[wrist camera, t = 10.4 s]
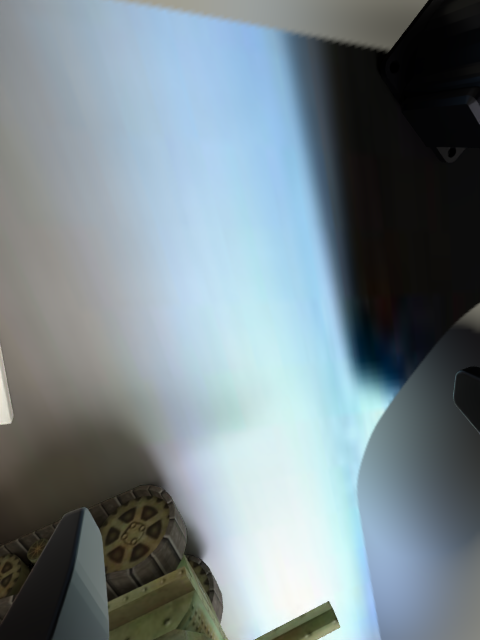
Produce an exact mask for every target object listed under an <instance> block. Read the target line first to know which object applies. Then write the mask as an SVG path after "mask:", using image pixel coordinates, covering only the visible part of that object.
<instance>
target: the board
mask: <svg viewBox="0 0 480 640" xmlns="http://www.w3.org/2000/svg"><path fill="white" fill-rule="evenodd" d="M13 416H14V415H13V409H12V404H11V399H10V393H9V388H8V383H7V377H6V372H5V367H4V362H3V356H2V351H1V346H0V425H1V424H10V423H11V422H12V419H13Z"/></svg>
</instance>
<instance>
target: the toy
mask: <svg viewBox="0 0 480 640" xmlns="http://www.w3.org/2000/svg"><path fill="white" fill-rule="evenodd" d="M87 509H88V510H89V512H90V514H91V515H92V517H93V519H94V521H95V523H96V525H97V526H98V528H99V530H100V533H101V536H102V542H103V554H104V566H105V577H106V589H107V601H108V614H109V640H228V639H227V637H226V635H225V633H224V632H223V630H222V628H221V625H220V623H221V618H222V612H223V601H222V594H221V591H220V589H219V586H218V584H217V582H216V580H215V578H214V576H213V575H212V573H211V571H210V569H209V567H208V566H207V565H206V564H205V563H204V562H203V561H202V560H201V559H199V558H197V557H194V556H192V555H184V551H185V547H186V544H187V529H186V526H185V524H184V521H183V518H182V516H181V515H180V513H179V511H178V509H177V507H176V505H175V503H174V501H173V500H172V498H171V496H170V495H169V494H168V493H167V492H166V491H165V490H164V489H162V488H160V487H157V486H154V485H141V486H138V487H136V488H134V489H131V490H129V491H127V492H125V493H122V494H120V495H118V496H115V497H113V498H111V499H108V500H106V501H104V502H101V503H99V504H97V505H94V506H92V507H90V508H87ZM59 522H60V521H57V522H55V523H53V524H50V525H48V526H46V527H43V528H41V529H39V530H36V531H34V532H32V533H30V534H27V535H25V536H23V537H20V538H18V539H16V540H13V541H11V542H9V543H6V544H4V545H2V546H0V624H1V622H2V620H3V619H4V617H5V615H6V614H7V612H8V610H9V608H10V607H11V605H12V603H13V601H14V600H15V598H16V596H17V595H18V593H19V591H20V589H21V588H22V586H23V584H24V582H25V581H26V579H27V577H28V575H29V574H30V572H31V570H32V569H30V568H29V567H28V566H27V564H30V563H33V564H34V565H35V563H36V562H37V560H38V558H39V556H40V555H41V553H42V551H43V550H44V548H45V546H46V544H47V543H48V541H49V539H50V537H51V536H52V534H53V532H54V531H55V529H56V527H57V525H58V524H59ZM338 628H340V625H339V622H338V620H337V617H336V615H335V613H334V610H333V608H332V606H331V604H330V602H329V601H328V602H326V603H324V604H322V605H320V606H318V607H317V608H315V609H313V610H311V611H309V612H307V613H305V614H303V615H301V616H299V617H297V618H295V619H293V620H291V621H289V622H288V623H286V624H284V625H282V626H280V627H278V628H276V629H274V630H272V631H270V632H268V633H266V634H264V635H262V636H260V637H259V638H257V639H255V640H317V639H319V638H321V637H323V636H325V635H327V634H329V633H331V632H332V631H334V630H336V629H338Z"/></svg>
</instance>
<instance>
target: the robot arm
mask: <svg viewBox="0 0 480 640" xmlns="http://www.w3.org/2000/svg"><path fill="white" fill-rule="evenodd" d="M391 63H393V65H394V70H393V72H391V71H390V65H391ZM380 75H381V77H382V79H383V80H384V82H385V83H386V84H387V86H388V87H389V89H390V90H391V92H392V93H393V94H394V96H395V97H396V99H397V100H398V102H399V103H400V104H401V107H402V113H403V114H404V115H405V117H406V118H407V120H408V121H409V122H410V124H411V125H412V127H413V128H414V130H415V131H416V132H417V134H418V135H419V137H420V138H421V139H422V141H423V142H424V144H425V145H426V146H427V147H431V149H432V150H433V152H434V153H435V154H436V156H437V157H438V159H439V160H440V161H441V162H447V163H451V162H454V161H455V160H456V159H457V158H458V157H459V155H460V154H461V153H462V152H463V151H464V149H465V148H480V0H428V2H427V3H426V4H425V6H424V7H423V8H422V10H421V11H420V12H419V13H418V15H417V16H416V17H415V19H414V20H413V21H412V23H411V24H410V25H409V27H408V28H407V29H406V30H405V32H404V33H403V34H402V36H401V37H400V38H399V40H398V41H397V42H396V43H395V45H394V46H393V47H392V49H391V50H390V51H389V53H388V54H387V55H386V56H385V58H384V59H383V61H382V63H381V65H380ZM449 149H450V154H449V155H448V151H449ZM453 399H454V402H455V404H456V406H457V407H458V408H459V409H460V411H461V412H462V413H463V414H464V416H465V417H466V418H467V419H468V420H469V421H470V423H471V424H472V425H473V426H474V427H475V428H476V430H477V431H478V432H479V433H480V368H479V367H468V368H466V369H463V370H460V371H458V372H457V374H456V377H455V385H454V393H453ZM0 640H109V614H108V601H107V589H106V577H105V566H104V554H103V542H102V536H101V533H100V530H99V528H98V526H97V525H96V523H95V521H94V519H93V517H92V515H91V514H90V512H89V510H88V509H87V508H86V507H81V508H78V509H76V510H73V511H70V512H68V513H66V514H65V515H64V516H63V517H62V518H61V520H60V522H59V524H58V525H57V527H56V529H55V531H54V532H53V534H52V536H51V537H50V539H49V541H48V543H47V544H46V546H45V548H44V550H43V551H42V553H41V555H40V556H39V558H38V560H37V562H36V563H35V565H34V567H33V569H32V570H31V572H30V574H29V575H28V577H27V579H26V581H25V582H24V584H23V586H22V588H21V589H20V591H19V593H18V595H17V596H16V598H15V600H14V601H13V603H12V605H11V607H10V608H9V610H8V612H7V614H6V615H5V617H4V619H3V620H2V622H1V624H0Z"/></svg>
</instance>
